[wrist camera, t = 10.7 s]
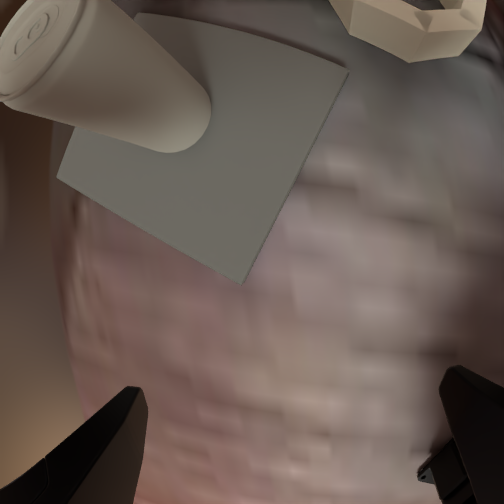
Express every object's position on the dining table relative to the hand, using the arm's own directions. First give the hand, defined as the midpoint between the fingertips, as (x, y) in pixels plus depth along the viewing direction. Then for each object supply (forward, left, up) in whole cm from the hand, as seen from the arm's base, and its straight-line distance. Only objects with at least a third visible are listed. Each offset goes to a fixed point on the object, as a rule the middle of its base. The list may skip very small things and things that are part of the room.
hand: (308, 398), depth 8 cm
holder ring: (+3, -21, -11) cm, 24 cm away
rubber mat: (+12, -6, -11) cm, 17 cm away
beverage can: (+12, -6, -10) cm, 17 cm away
